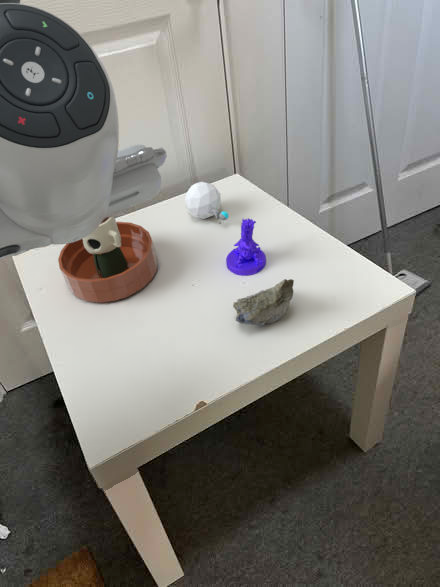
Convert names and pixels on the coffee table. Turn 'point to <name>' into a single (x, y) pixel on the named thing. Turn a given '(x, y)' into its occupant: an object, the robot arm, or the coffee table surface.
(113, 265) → the character mug
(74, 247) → the bowl
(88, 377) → the coffee table surface
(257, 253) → the figurine
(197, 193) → the faceted white ball
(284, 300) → the rock
